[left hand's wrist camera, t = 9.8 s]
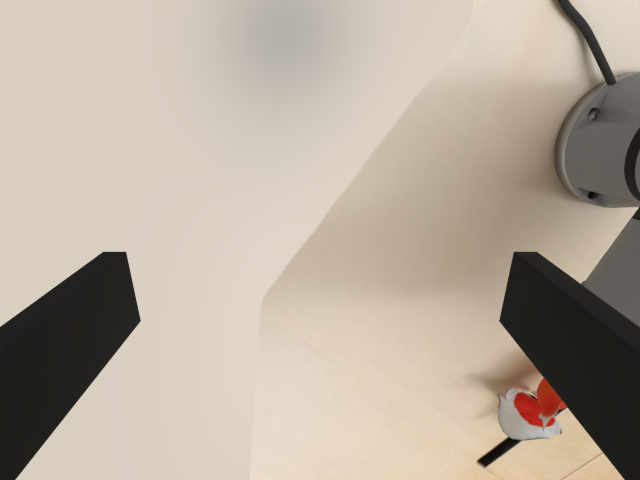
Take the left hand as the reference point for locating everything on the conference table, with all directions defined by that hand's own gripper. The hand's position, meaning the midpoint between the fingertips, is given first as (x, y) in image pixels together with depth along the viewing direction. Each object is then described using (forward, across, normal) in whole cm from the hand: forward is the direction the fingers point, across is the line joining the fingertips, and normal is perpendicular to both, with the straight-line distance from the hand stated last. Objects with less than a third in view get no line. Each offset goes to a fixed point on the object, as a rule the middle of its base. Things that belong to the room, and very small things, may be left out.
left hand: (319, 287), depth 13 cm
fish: (+34, +32, -36) cm, 60 cm away
